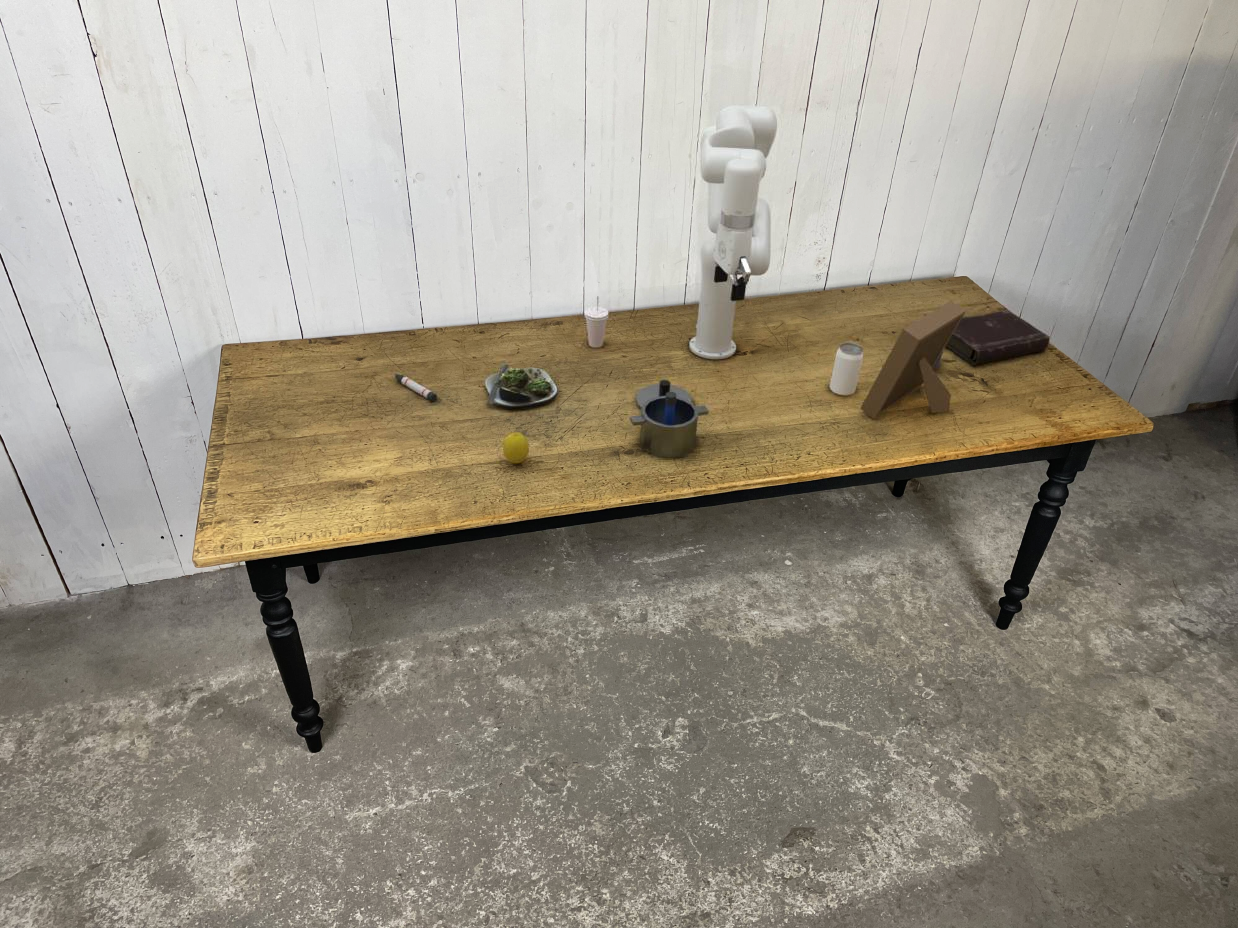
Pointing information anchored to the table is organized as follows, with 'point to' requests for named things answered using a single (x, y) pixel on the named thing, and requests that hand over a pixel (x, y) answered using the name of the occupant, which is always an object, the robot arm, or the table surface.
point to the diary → (995, 337)
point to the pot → (668, 427)
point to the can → (846, 369)
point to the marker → (416, 387)
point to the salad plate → (520, 388)
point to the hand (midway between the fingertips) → (728, 290)
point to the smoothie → (596, 324)
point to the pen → (669, 408)
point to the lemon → (515, 448)
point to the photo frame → (915, 363)
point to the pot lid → (660, 392)
